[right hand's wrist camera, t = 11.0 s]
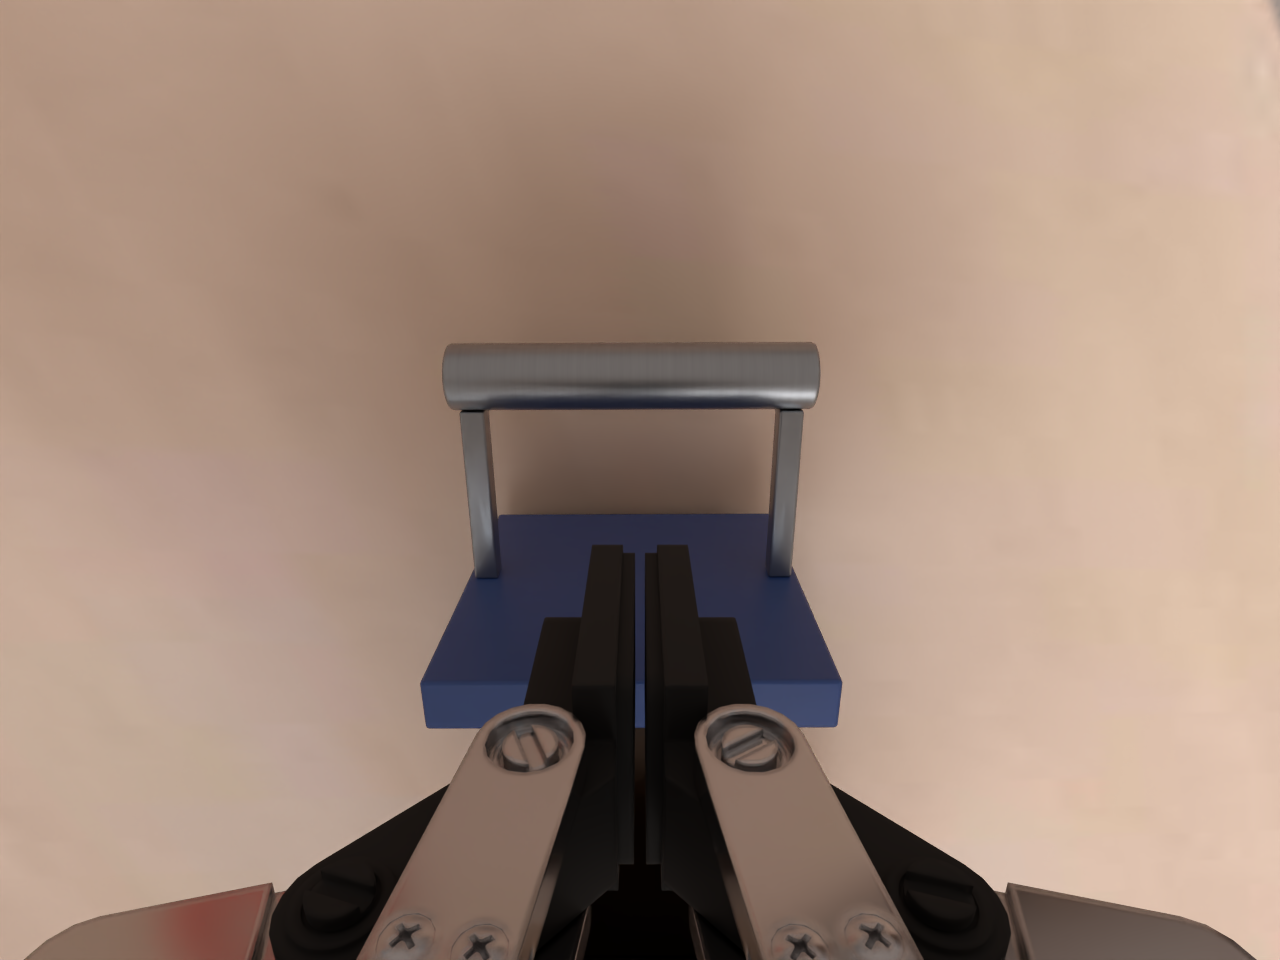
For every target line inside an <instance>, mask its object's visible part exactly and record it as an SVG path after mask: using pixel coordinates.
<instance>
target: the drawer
mask: <svg viewBox="0 0 1280 960" xmlns="http://www.w3.org/2000/svg"><path fill="white" fill-rule="evenodd" d="M442 381H443V390H444V395H445V398H446V401H447V404H448V406H449V407H450V408H451V409H453V410H462V411H461V412H460V423H461V433H462V444H463V454H464V464H465V475H466V485H467V495H468V506H469V516H470V526H471V537H472V547H473V557H474V570H473V572H472V575H471V577H470V579H469V581H468V583H467V585H466V587H465V589H464V592H463V594H462V596H461V598H460V600H459V602H458V604H457V606H456V608H455V611H454V613H453V615H452V617H451V619H450V621H449V623H448V625H447V628H446V630H445V632H444V634H443V636H442V638H441V640H440V642H439V644H438V647H437V649H436V651H435V653H434V655H433V657H432V659H431V661H430V664H429V666H428V668H427V670H426V672H425V674H424V676H423V678H422V680H421V683H420V685H421V693H422V700H423V707H424V715H425V722H426V726H427V728H482V726H483V725H484V724H485V723H486V722H487V721H489V720H490V719H491V718H493V717H494V716H495V715H497V714H499V713H501V712H503V711H506V710H508V709H510V708H513V707H517V706H522V705H524V701H525V696H526V692H527V688H528V684H529V680H530V675H531V671H532V667H533V663H534V659H535V654H536V650H537V646H538V642H539V638H540V633H541V629H542V625H543V621H544V618H546V617H582V610H583V603H584V597H585V590H586V583H587V576H588V569H589V562H590V555H591V549H592V545H623V553H635V796H634V864H619V885H618V891H606V892H605V893H604V894H603V895H601V896H600V897H599V898H598V899H597V900H596V901H594V902H593V903H592V904H591V906H592V916H591V928H590V933H589V937H588V941H587V946H586V950H585V955H584V959H583V960H697V959H696V955H695V950H694V946H693V941H692V937H691V933H690V928H689V916H688V906H689V904H688V903H687V902H686V901H684V900H683V899H682V898H681V897H680V896H679V895H677V894H676V893H675V892H674V891H662V885H661V864H646V796H645V553H657V545H688V549H689V555H690V562H691V569H692V576H693V583H694V590H695V597H696V603H697V610H698V617H734V618H735V619H736V621H737V625H738V629H739V633H740V638H741V642H742V646H743V650H744V654H745V659H746V663H747V667H748V671H749V675H750V680H751V684H752V688H753V692H754V696H755V701H756V705H758V706H763V707H767V708H770V709H772V710H774V711H777V712H779V713H781V714H783V715H785V716H786V717H787V718H789V719H790V720H791V721H793V722H794V723H795V724H796V725H797V726H798V727H836V726H837V723H838V716H839V707H840V698H841V690H842V680H841V678H840V675H839V673H838V671H837V669H836V666H835V664H834V662H833V659H832V657H831V655H830V652H829V650H828V648H827V646H826V643H825V641H824V639H823V636H822V634H821V632H820V629H819V627H818V625H817V623H816V620H815V618H814V616H813V613H812V611H811V609H810V606H809V604H808V602H807V600H806V597H805V595H804V593H803V590H802V588H801V586H800V583H799V581H798V579H797V577H796V574H795V572H794V570H793V567H792V556H793V543H794V531H795V518H796V506H797V493H798V481H799V468H800V455H801V443H802V430H803V418H804V412H803V410H802V409H810V408H812V407H813V406H814V405H815V403H816V400H817V397H818V393H819V387H820V358H819V352H818V349H817V346H816V345H815V344H814V343H812V342H727V343H483V344H450V345H448V346H447V347H446V349H445V352H444V357H443V363H442ZM632 409H776V410H775V426H774V441H773V457H772V472H771V487H770V503H769V514H576V515H500V516H499V517H498V518H497V506H496V493H495V481H494V469H493V457H492V445H491V432H490V420H489V410H632Z"/></svg>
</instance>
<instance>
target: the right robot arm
mask: <svg viewBox="0 0 1280 960" xmlns="http://www.w3.org/2000/svg"><path fill="white" fill-rule="evenodd" d="M634 796H635V553H623V545H592V549H591V555H590V562H589V569H588V576H587V583H586V590H585V597H584V603H583V610H582V617H546V618H544V621H543V625H542V629H541V633H540V638H539V642H538V646H537V650H536V654H535V659H534V663H533V667H532V671H531V675H530V680H529V684H528V688H527V692H526V696H525V701H524V705H522V706H517V707H513V708H510V709H508V710H506V711H503V712H501V713H499V714H497V715H495V716H494V717H493V718H491V719H490V720H489V721H487V722H486V723H485V724H484V725H483V726H482V728H481V729H480V730H479V732H478V733H477V734H476V736H475V738H474V740H473V742H472V744H471V746H470V747H469V749H468V751H467V753H466V755H465V757H464V759H463V761H462V762H461V764H460V766H459V768H458V770H457V772H456V774H455V776H454V777H453V779H452V781H451V783H450V784H448V785H447V786H445V787H443V788H442V789H440V790H439V791H437V792H435V793H434V794H432V795H430V796H429V797H427V798H425V799H424V800H422V801H420V802H419V803H417V804H415V805H414V806H412V807H410V808H409V809H407V810H405V811H404V812H402V813H400V814H399V815H397V816H395V817H394V818H392V819H390V820H389V821H387V822H385V823H384V824H382V825H380V826H379V827H377V828H375V829H374V830H372V831H370V832H369V833H367V834H366V835H364V836H362V837H361V838H359V839H357V840H356V841H354V842H352V843H351V844H349V845H347V846H346V847H344V848H342V849H341V850H339V851H337V852H336V853H334V854H332V855H331V856H329V857H327V858H326V859H324V860H322V861H321V862H319V863H317V864H316V865H314V866H313V867H312V868H310V869H309V870H308V871H306V872H305V873H304V874H302V875H301V876H300V877H298V878H297V879H296V880H295V881H294V883H293V884H292V885H291V886H290V887H289V888H288V889H287V890H286V891H283V892H278V893H275V892H274V888H273V884H272V883H267V884H262V885H257V886H252V887H247V888H242V889H237V890H232V891H227V892H221V893H216V894H211V895H206V896H201V897H196V898H191V899H186V900H181V901H176V902H170V903H165V904H160V905H155V906H150V907H145V908H140V909H135V910H130V911H125V912H120V913H114V914H109V915H104V916H100V917H96V918H93V919H90V920H87V921H84V922H81V923H78V924H75V925H73V926H71V927H69V928H68V929H66V930H64V931H62V932H61V933H59V934H57V935H55V936H53V937H52V938H50V939H48V940H47V941H45V942H44V943H43V944H42V945H41V946H39V947H38V948H37V949H36V950H35V951H33V952H32V953H31V954H30V955H29V956H28V957H26V958H25V959H24V960H583V959H584V955H585V950H586V946H587V941H588V937H589V933H590V928H591V916H592V906H591V904H592V903H593V902H594V901H596V900H597V899H598V898H599V897H600V896H601V895H603V894H604V893H605V892H606V891H618V885H619V864H634ZM645 796H646V864H661V885H662V891H674V892H675V893H676V894H677V895H679V896H680V897H681V898H682V899H683V900H684V901H686V902H687V903H688V904H689V906H688V916H689V928H690V933H691V937H692V941H693V946H694V950H695V955H696V959H697V960H1256V959H1255V958H1254V957H1252V956H1251V955H1250V954H1249V953H1248V952H1247V951H1245V950H1244V949H1243V948H1242V947H1241V946H1239V945H1238V944H1237V943H1236V942H1235V941H1233V940H1232V939H1230V938H1228V937H1227V936H1225V935H1223V934H1221V933H1219V932H1218V931H1216V930H1214V929H1212V928H1211V927H1209V926H1207V925H1205V924H1202V923H1199V922H1196V921H1193V920H1190V919H1187V918H1184V917H1180V916H1176V915H1171V914H1166V913H1160V912H1155V911H1150V910H1145V909H1140V908H1135V907H1130V906H1125V905H1120V904H1115V903H1110V902H1104V901H1099V900H1094V899H1089V898H1084V897H1079V896H1074V895H1069V894H1064V893H1059V892H1053V891H1048V890H1043V889H1038V888H1033V887H1028V886H1023V885H1018V884H1013V883H1008V884H1007V888H1006V892H1005V893H1002V892H997V891H994V890H993V889H992V888H991V887H990V886H989V885H988V884H987V883H986V881H985V880H984V879H983V878H982V877H980V876H979V875H978V874H976V873H975V872H974V871H972V870H971V869H970V868H968V867H967V866H966V865H964V864H963V863H961V862H959V861H958V860H956V859H954V858H953V857H951V856H949V855H948V854H946V853H944V852H943V851H941V850H939V849H938V848H936V847H934V846H933V845H931V844H929V843H928V842H926V841H924V840H923V839H921V838H919V837H918V836H916V835H914V834H913V833H911V832H910V831H908V830H906V829H905V828H903V827H901V826H900V825H898V824H896V823H895V822H893V821H891V820H890V819H888V818H886V817H885V816H883V815H881V814H880V813H878V812H876V811H875V810H873V809H871V808H870V807H868V806H866V805H865V804H863V803H861V802H860V801H858V800H856V799H855V798H853V797H851V796H850V795H848V794H846V793H845V792H843V791H841V790H840V789H838V788H837V787H835V786H833V785H832V784H830V783H829V781H828V779H827V777H826V776H825V774H824V772H823V770H822V768H821V766H820V764H819V762H818V761H817V759H816V757H815V755H814V753H813V751H812V749H811V747H810V746H809V744H808V742H807V740H806V738H805V736H804V734H803V733H802V732H801V730H800V729H799V728H798V726H797V725H796V724H795V723H794V722H793V721H791V720H790V719H789V718H787V717H786V716H785V715H783V714H781V713H779V712H777V711H774V710H772V709H770V708H767V707H763V706H758V705H756V701H755V696H754V692H753V688H752V684H751V680H750V675H749V671H748V667H747V663H746V659H745V654H744V650H743V646H742V642H741V638H740V633H739V629H738V625H737V621H736V619H735V618H734V617H698V610H697V603H696V597H695V590H694V583H693V576H692V569H691V562H690V555H689V549H688V545H657V553H645Z"/></svg>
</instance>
